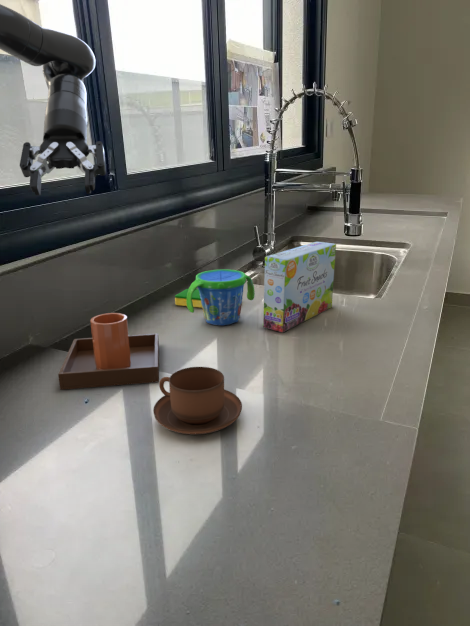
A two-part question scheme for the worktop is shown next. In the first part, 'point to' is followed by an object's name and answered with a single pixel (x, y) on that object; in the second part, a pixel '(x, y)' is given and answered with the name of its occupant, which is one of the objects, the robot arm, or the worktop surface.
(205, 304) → the snack cup
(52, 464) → the worktop surface
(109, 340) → the tumbler
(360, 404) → the worktop surface
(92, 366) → the tray
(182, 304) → the dish sponge
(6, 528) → the worktop surface
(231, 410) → the cup and saucer
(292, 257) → the snack box
